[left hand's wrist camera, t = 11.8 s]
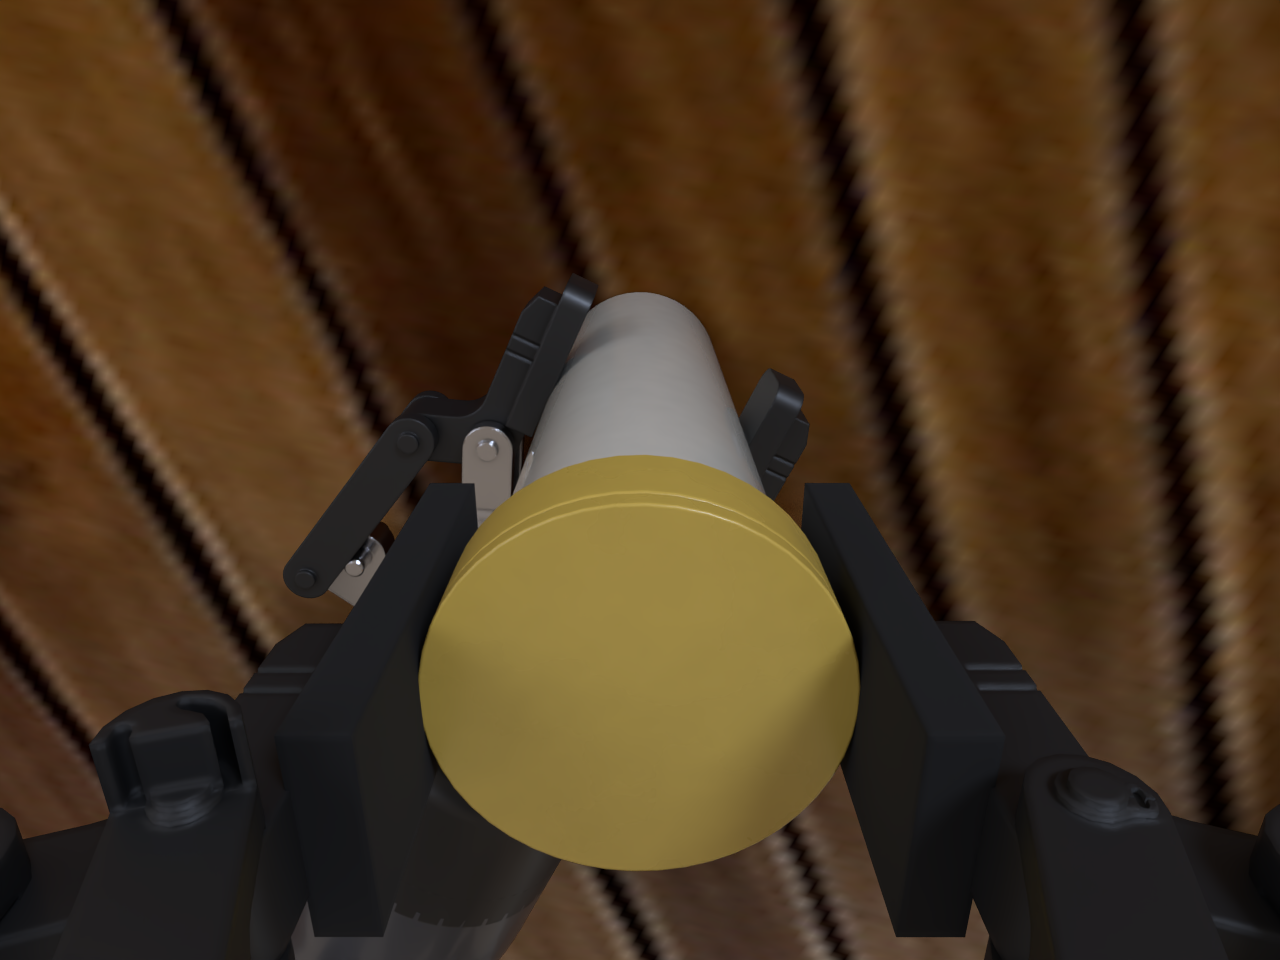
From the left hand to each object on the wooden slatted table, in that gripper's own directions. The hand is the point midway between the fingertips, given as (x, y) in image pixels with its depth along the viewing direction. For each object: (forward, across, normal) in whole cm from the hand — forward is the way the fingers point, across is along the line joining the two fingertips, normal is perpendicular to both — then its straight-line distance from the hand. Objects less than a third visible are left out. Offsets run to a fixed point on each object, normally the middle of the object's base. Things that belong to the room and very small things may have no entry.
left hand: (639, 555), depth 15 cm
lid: (-4, 0, 0) cm, 4 cm away
